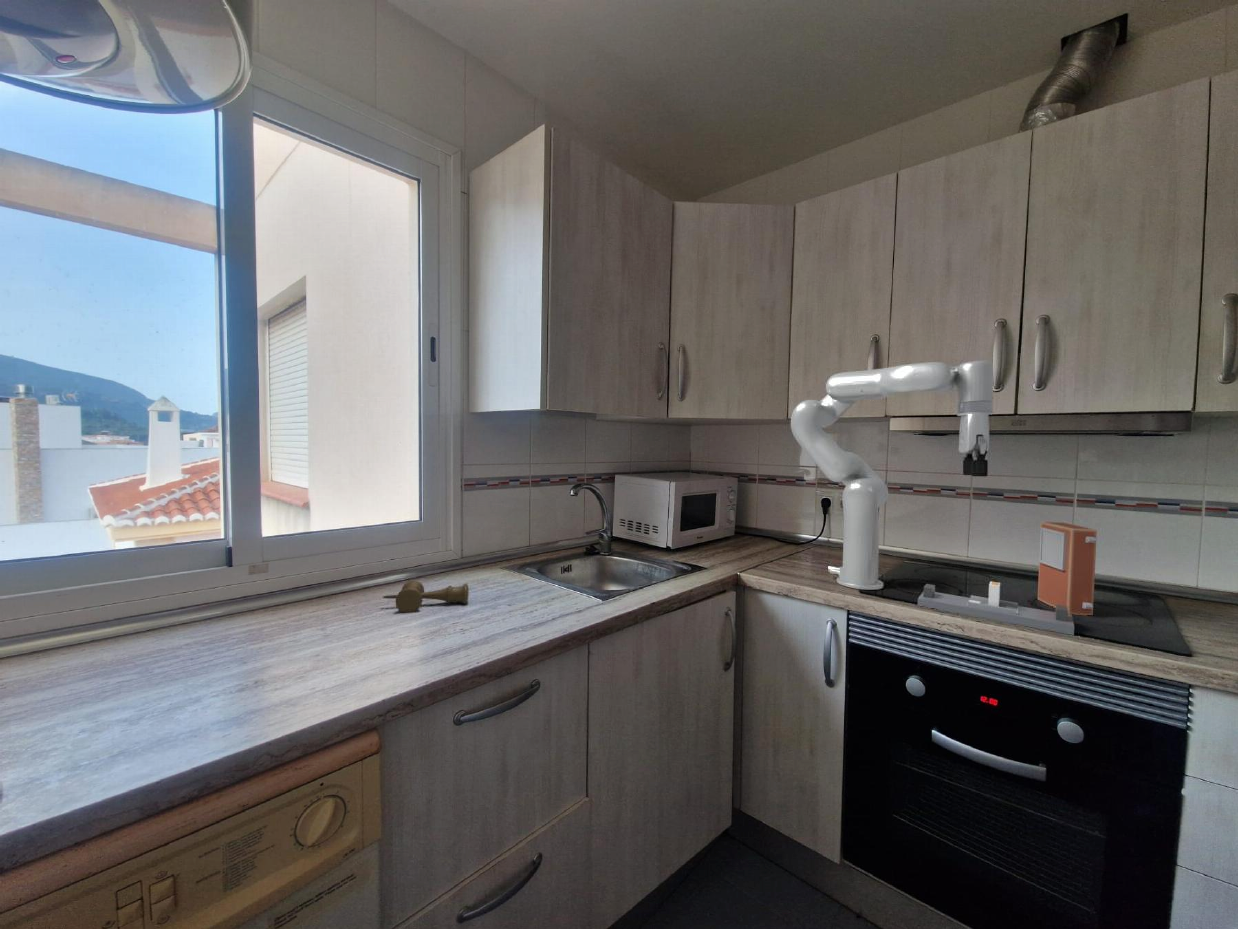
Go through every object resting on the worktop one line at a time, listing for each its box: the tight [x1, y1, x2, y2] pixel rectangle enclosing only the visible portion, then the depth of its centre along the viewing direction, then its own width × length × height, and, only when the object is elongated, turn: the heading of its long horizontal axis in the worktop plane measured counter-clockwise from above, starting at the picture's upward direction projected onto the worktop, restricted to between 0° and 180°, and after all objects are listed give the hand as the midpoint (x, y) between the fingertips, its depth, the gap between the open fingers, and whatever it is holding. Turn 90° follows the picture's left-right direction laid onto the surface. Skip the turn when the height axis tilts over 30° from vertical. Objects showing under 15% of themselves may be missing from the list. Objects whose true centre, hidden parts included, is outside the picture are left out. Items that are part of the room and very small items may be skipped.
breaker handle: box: [988, 580, 1001, 607], centre depth 124 cm, size 2×4×6 cm, turn 140°
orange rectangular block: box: [1037, 521, 1098, 616], centre depth 130 cm, size 21×7×15 cm
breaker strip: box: [917, 583, 1075, 636], centre depth 124 cm, size 30×10×4 cm, turn 50°
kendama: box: [382, 580, 470, 614], centre depth 125 cm, size 6×10×20 cm
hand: (974, 475), depth 130 cm, fingers open, 9 cm apart
